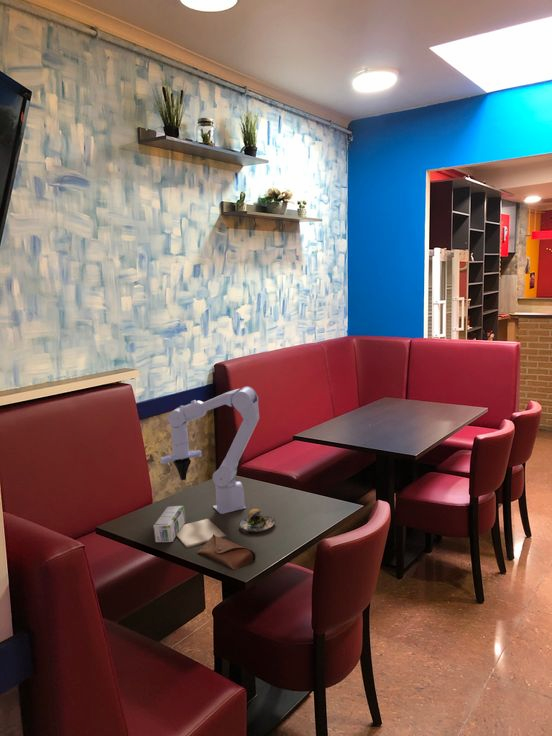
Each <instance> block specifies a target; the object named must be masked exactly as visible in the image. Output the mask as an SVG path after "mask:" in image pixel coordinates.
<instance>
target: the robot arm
mask: <svg viewBox="0 0 552 736" xmlns="http://www.w3.org/2000/svg"><path fill="white" fill-rule="evenodd" d="M225 405H226V406H228V407H231V408H233V407H234V408H235V410H237V412H239V414H240V415H241V418H242V419H243V420H242V422H241V424H240V426H239V428H238V430H237V433H236V435H235V437H234V438H233V441H232V443H231V445H230V447H229V449H228V451H227V453H226V456H225V457H224V459H223V461H222V463H221V465H220V466H219V468H218V469H217V470H216V471H214V472H213V474H212V481H213V483H214V486H215V499H216V504H215V505H213V506H212V508H213V509H214V510H216V511H217V512H218V513H219V514H220V515H224V514H228V513H232V512H235V511H240V510H243V509H246V508H247V507H246V506H245V492H244V486H243V483H242V482H241V481H237V480H236V479H235V477H236V476H237V473H238V465H239V461H240V459H241V458H242V455H243V453H244V451H245V449H246V447H247V445H248V443H249V440H251V436H252V435H253V432H254V431H255V428H256V426H257V424H258V422H259V420H260V411H259V410H260V409H259V396H258V395H257V392H256V391H255V389H254V388H252V387H251V386H243V387H241V388H236V389H234V390H229V391H227V392H224V393H222V394H220V395H217V396H215V397H213V398H210V399H208V400H206V401H202V400H196V399H194V400H191V401H190V403H188V404H186V405H182V404H181V405H180V406H178V407H176V408H175V409H174V410H172V411H170V412H169V414H168V415H167V422H168V424H169V425H170V436H171V444H172V445H171V447H172V453H171V454H168V455H166V456H162V457H160V464H162V465H164V464H166V463H173V464H174V465H175V468H176V470H177V472H178V475H179V479H180V480H181V481H186V480H187V476H188V475H187V474H188V470H189V468H190V465H191V462H192V461H191V459H193V458H198V457H199V458H201V457H203V455H202V450H200V449H197V450H190V445H189V432H188V423H189V422H192V421H194V420H197V419H199V418H202V417H205V415H206V414H207V411H211V410H214V409H216V408H219V407H221V406H225Z"/></svg>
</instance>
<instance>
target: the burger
mask: <svg viewBox="0 0 552 736" xmlns="http://www.w3.org/2000/svg"><path fill="white" fill-rule="evenodd" d="M250 506H251V510H249V512H248V513H247V514H248V515H247V517H245V518H242V519H241V520H240V521H239V524H238V526H239V528H238V529H239V532H240V533H243V534H245V535H249V532H252V533H254V532H255V533H259V532H263V531H266V530H269V529H271V528H272V527H273V526H274V525H275V524H276V519H275V518H272V517H270V516H266V515H262V514H260V513H261V510H260V509H259V508H253V507H252V505H250Z"/></svg>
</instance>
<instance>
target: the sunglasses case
mask: <svg viewBox="0 0 552 736" xmlns="http://www.w3.org/2000/svg"><path fill="white" fill-rule="evenodd" d="M196 554H197V555H201V556H204V557H206V558H208V559H211V560H213V561H215V562H217V563H218V564H219V563H220V564H221V565H223V566H226V567H227V568H229V567H230V569H231V570H233V571H236V570H238V569H240V568H242V567H243V566H245V565H248V564H250V563H252V562H253V561H255V560H256V559H257V558H256V557H257V556H256V553H255V552H254V551H253V550H252V549H251V548H247V547H244V546H242V545H239V544H238V543H235V542H233V541H231V540H227V539H226V538H220V537H218V536H216V535H214V534H213V536H212V537H211V538H210V539H209V540H208V542H207V543H204V545H203V546H201V548H200V549H199V550H198V551H197V552H196Z"/></svg>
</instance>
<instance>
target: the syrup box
mask: <svg viewBox="0 0 552 736" xmlns="http://www.w3.org/2000/svg"><path fill="white" fill-rule="evenodd" d="M185 511H186V510H185V506H184V505H173V506H170V505H169V506H167V507H166V508H165V510H164V511H163V512H162V514H161V515H160V517H158V519H157V521H156V522H155V523H154V524H153V533H154V539H155V540H154V541H155V543H171V542H174V540H175V539H176V538H177V536H176V535H177V534H178V532H179V530H180V529H181V527H182V526H183V525H185V524H186V513H185Z"/></svg>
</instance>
